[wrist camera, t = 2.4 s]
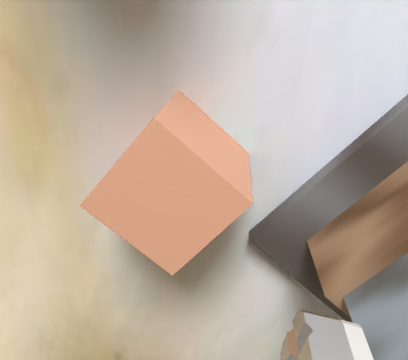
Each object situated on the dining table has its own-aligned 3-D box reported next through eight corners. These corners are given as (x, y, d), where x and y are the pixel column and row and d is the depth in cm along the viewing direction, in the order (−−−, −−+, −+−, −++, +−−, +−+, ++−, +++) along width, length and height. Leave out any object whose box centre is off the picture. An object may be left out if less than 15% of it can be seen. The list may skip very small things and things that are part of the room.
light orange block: (189, 210, 21) (172, 275, 16) (122, 155, 20) (79, 206, 15) (248, 152, 19) (253, 203, 14) (178, 89, 18) (153, 117, 13)
